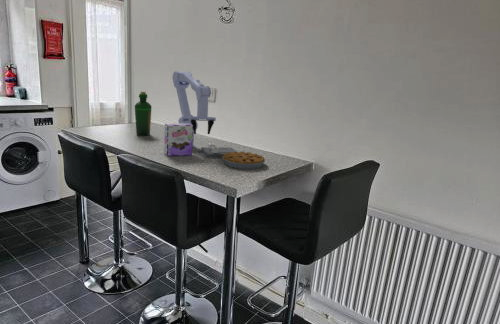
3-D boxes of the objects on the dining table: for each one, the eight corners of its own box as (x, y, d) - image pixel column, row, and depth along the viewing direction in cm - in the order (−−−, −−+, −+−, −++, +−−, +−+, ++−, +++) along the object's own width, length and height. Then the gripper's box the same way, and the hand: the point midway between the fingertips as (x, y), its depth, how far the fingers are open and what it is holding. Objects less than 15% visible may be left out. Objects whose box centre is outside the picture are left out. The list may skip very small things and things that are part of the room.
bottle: (155, 135, 227) (155, 92, 220) (142, 137, 218) (142, 92, 211) (144, 132, 232) (144, 91, 225) (131, 134, 224) (130, 91, 217)
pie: (230, 171, 159) (230, 161, 158) (215, 159, 178) (216, 150, 177) (271, 169, 168) (272, 159, 167) (253, 158, 187) (254, 149, 186)
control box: (206, 157, 179) (207, 154, 179) (201, 150, 194) (201, 147, 193) (239, 157, 185) (239, 153, 185) (231, 150, 200) (231, 147, 199)
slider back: (209, 149, 189) (209, 144, 188) (207, 147, 193) (208, 142, 192) (214, 149, 190) (215, 144, 189) (213, 147, 194) (213, 142, 193)
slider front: (213, 153, 181) (213, 147, 180) (211, 151, 185) (211, 145, 184) (218, 153, 182) (218, 147, 181) (216, 151, 186) (217, 145, 185)
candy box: (166, 156, 176) (167, 124, 172) (163, 153, 181) (164, 123, 177) (192, 155, 182) (193, 124, 178) (189, 152, 187) (189, 123, 183)
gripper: (190, 109, 178) (189, 134, 182) (217, 110, 183) (216, 135, 187) (188, 108, 185) (187, 132, 188) (214, 108, 190) (213, 133, 193)
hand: (201, 133), depth 188 cm, fingers open, 7 cm apart
